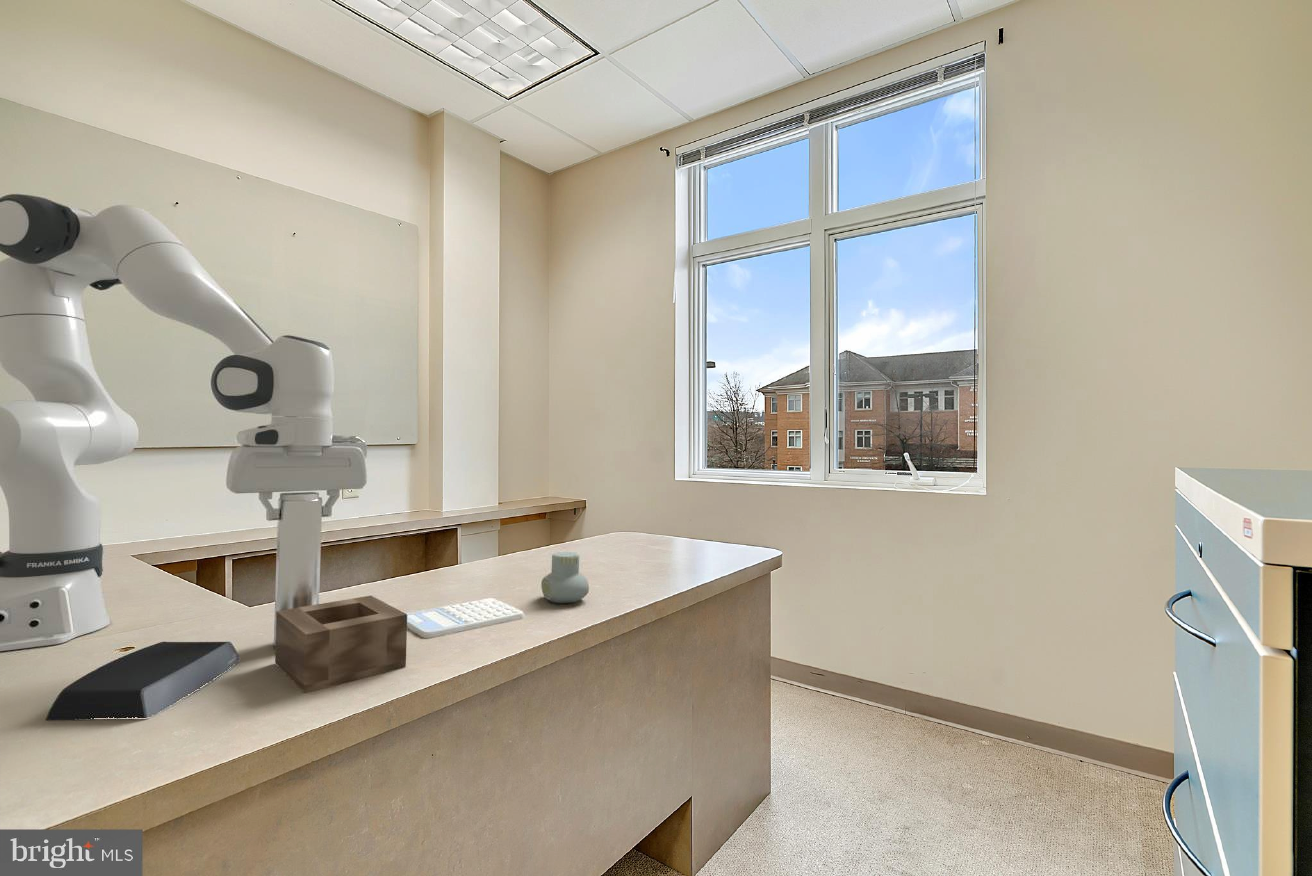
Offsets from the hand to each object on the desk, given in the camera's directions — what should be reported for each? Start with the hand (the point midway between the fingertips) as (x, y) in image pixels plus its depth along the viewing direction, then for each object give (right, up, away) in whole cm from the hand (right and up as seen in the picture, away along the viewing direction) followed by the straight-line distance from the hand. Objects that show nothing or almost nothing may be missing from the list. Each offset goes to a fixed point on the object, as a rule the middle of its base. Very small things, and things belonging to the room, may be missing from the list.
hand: (299, 518), depth 101 cm
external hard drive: (-10, -22, -18) cm, 29 cm away
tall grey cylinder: (-1, -21, 0) cm, 21 cm away
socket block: (+11, -21, -8) cm, 25 cm away
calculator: (+22, -22, +16) cm, 35 cm away
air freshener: (+39, -22, +31) cm, 55 cm away
